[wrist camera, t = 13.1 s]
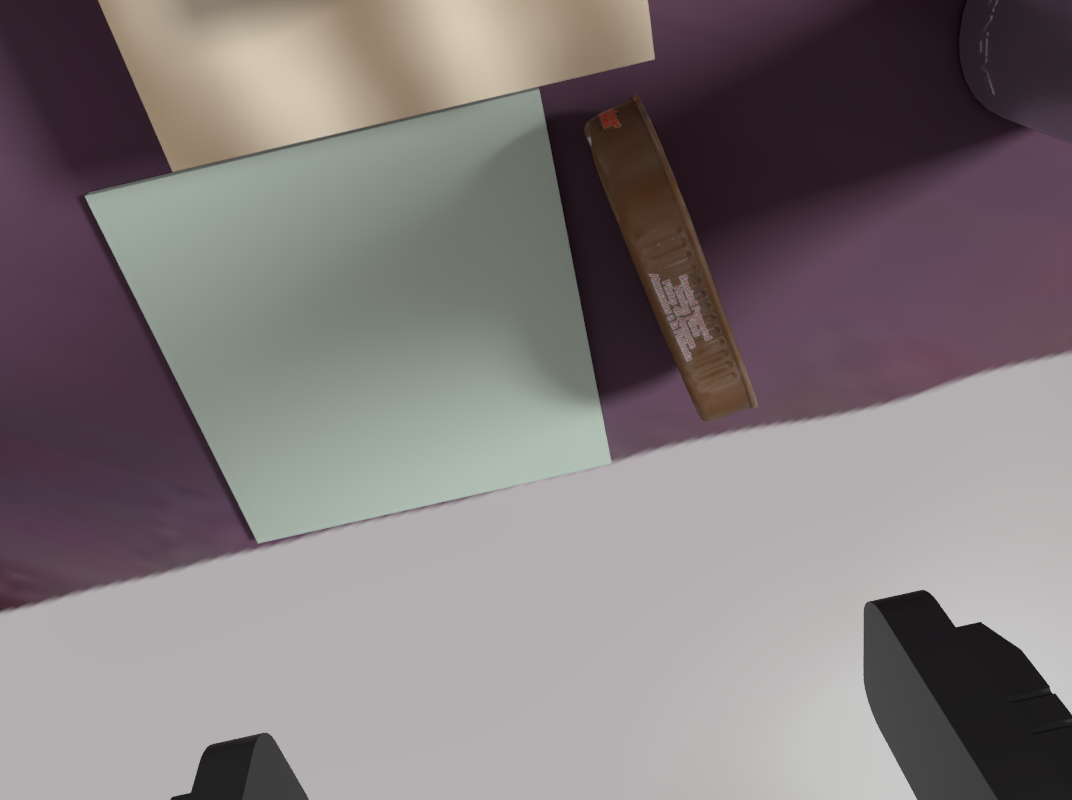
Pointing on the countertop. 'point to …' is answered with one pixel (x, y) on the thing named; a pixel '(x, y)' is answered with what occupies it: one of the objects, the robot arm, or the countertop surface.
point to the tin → (669, 258)
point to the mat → (370, 314)
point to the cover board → (350, 62)
